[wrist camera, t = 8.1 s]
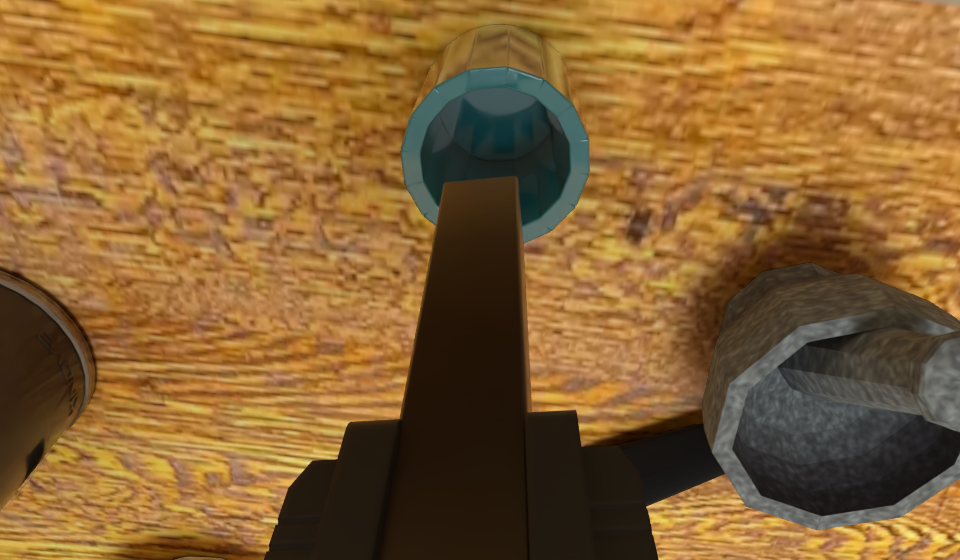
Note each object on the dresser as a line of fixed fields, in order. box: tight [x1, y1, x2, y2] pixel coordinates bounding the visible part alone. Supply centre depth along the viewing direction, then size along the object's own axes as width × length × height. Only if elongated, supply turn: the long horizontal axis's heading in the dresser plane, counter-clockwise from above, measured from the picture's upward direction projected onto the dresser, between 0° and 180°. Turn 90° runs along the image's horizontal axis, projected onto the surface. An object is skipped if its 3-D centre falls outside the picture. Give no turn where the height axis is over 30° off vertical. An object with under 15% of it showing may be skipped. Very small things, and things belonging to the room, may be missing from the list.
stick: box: [377, 176, 532, 560], centre depth 13 cm, size 2×2×14 cm
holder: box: [400, 24, 590, 243], centre depth 26 cm, size 6×6×7 cm
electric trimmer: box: [616, 423, 725, 506], centre depth 37 cm, size 4×16×3 cm, turn 120°
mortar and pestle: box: [702, 262, 960, 530], centre depth 28 cm, size 11×9×12 cm
